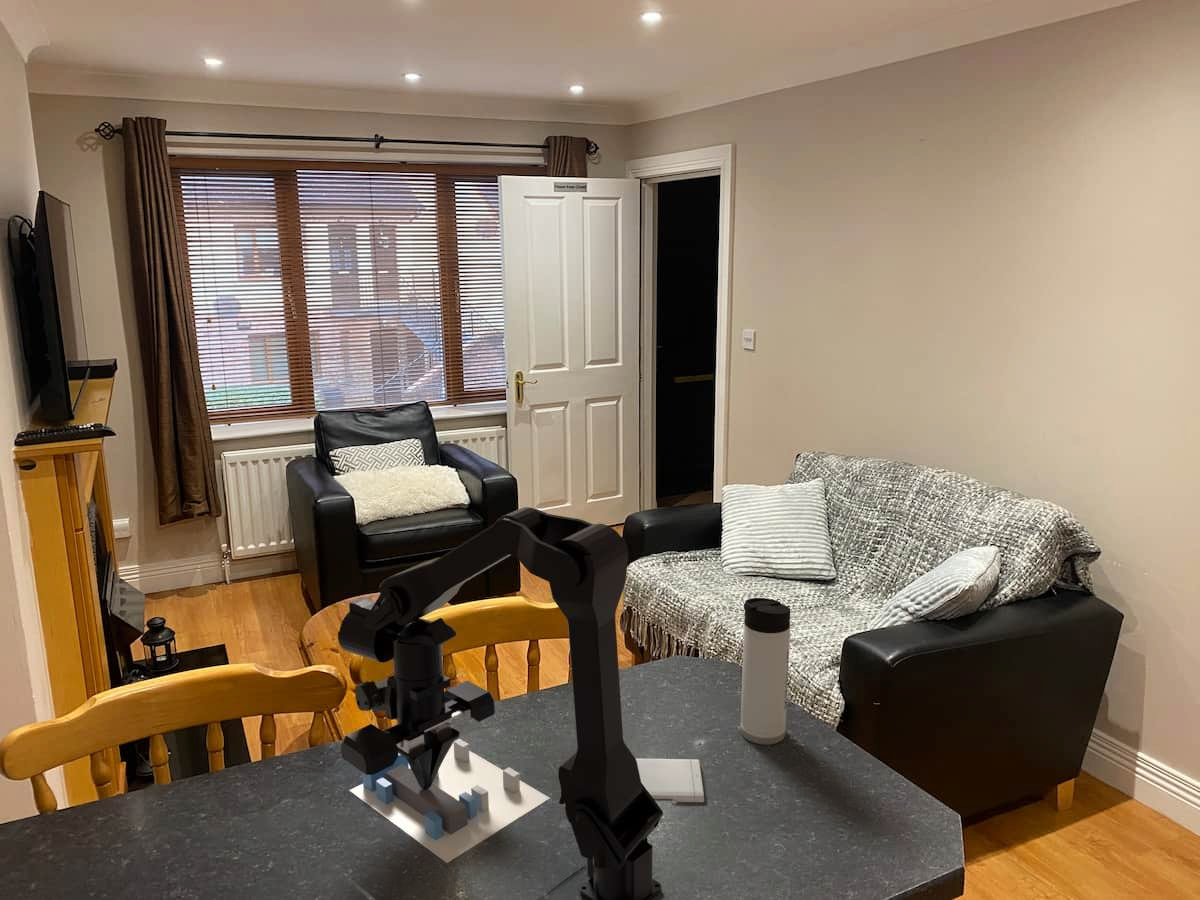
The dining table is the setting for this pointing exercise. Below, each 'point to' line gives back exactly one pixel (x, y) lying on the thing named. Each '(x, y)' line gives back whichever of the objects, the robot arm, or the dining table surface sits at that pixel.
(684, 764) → the hard drive
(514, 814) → the board
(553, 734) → the dining table surface
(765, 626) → the travel mug
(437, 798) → the dark grey bar
